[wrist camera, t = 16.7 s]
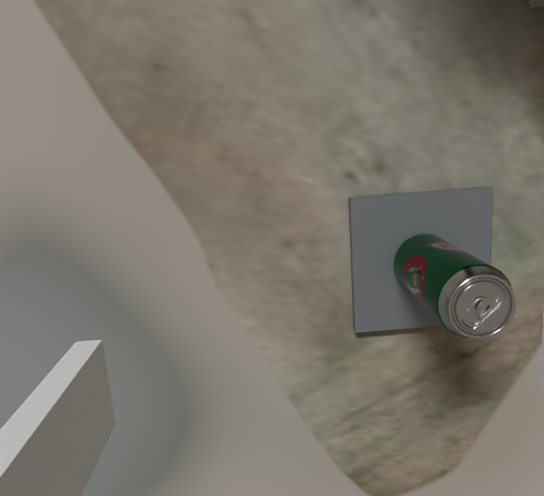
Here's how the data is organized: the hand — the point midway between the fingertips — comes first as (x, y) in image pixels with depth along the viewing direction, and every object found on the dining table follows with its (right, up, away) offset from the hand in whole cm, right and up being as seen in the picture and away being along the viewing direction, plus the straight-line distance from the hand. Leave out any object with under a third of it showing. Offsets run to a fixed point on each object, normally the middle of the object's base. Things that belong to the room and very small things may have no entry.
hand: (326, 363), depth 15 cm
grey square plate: (+11, +2, +29) cm, 32 cm away
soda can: (+11, +2, +29) cm, 31 cm away
